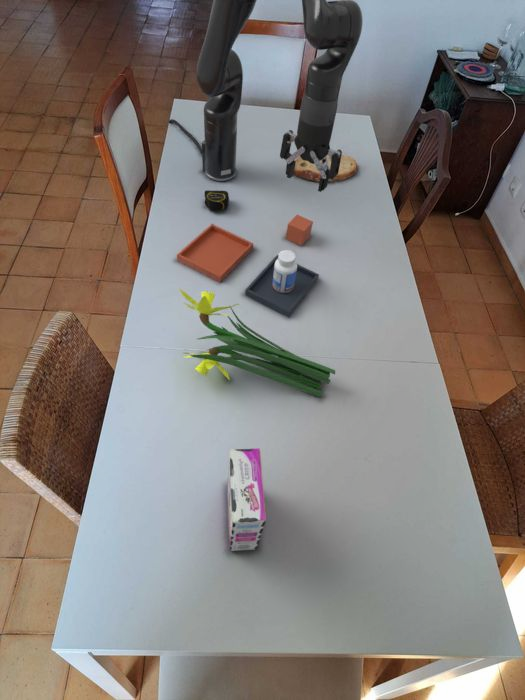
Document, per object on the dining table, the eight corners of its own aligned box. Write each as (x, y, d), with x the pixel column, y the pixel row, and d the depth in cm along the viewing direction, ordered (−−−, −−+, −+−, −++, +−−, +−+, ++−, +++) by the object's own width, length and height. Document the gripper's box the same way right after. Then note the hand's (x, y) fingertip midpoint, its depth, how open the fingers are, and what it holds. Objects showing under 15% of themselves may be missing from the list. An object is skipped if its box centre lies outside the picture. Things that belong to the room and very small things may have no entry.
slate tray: (245, 295, 110) (245, 289, 109) (276, 260, 118) (277, 254, 117) (288, 317, 107) (289, 311, 105) (317, 280, 115) (319, 274, 114)
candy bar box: (259, 550, 76) (267, 521, 63) (229, 552, 75) (231, 524, 62) (254, 484, 83) (260, 446, 69) (226, 486, 82) (228, 448, 69)
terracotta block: (285, 238, 124) (287, 223, 120) (294, 229, 126) (296, 214, 122) (301, 246, 122) (304, 231, 118) (310, 236, 125) (313, 221, 121)
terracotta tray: (177, 260, 115) (176, 254, 114) (212, 229, 124) (211, 223, 122) (220, 282, 112) (220, 276, 110) (252, 249, 120) (253, 243, 119)
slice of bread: (361, 167, 148) (364, 156, 145) (337, 193, 138) (340, 182, 135) (312, 148, 152) (314, 137, 149) (286, 172, 142) (287, 161, 139)
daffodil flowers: (313, 432, 91) (145, 369, 85) (306, 396, 104) (161, 340, 99) (352, 361, 85) (175, 288, 79) (340, 333, 98) (187, 270, 93)
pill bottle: (294, 279, 114) (300, 249, 106) (293, 294, 111) (298, 265, 103) (272, 276, 114) (276, 246, 106) (270, 292, 111) (274, 262, 103)
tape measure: (228, 199, 132) (228, 188, 129) (229, 214, 128) (229, 203, 125) (204, 199, 131) (204, 187, 128) (204, 214, 127) (204, 202, 124)
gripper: (355, 120, 96) (338, 187, 109) (297, 98, 100) (287, 165, 113) (339, 134, 92) (324, 202, 105) (279, 111, 96) (272, 179, 109)
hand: (305, 183), depth 109 cm, fingers open, 8 cm apart
